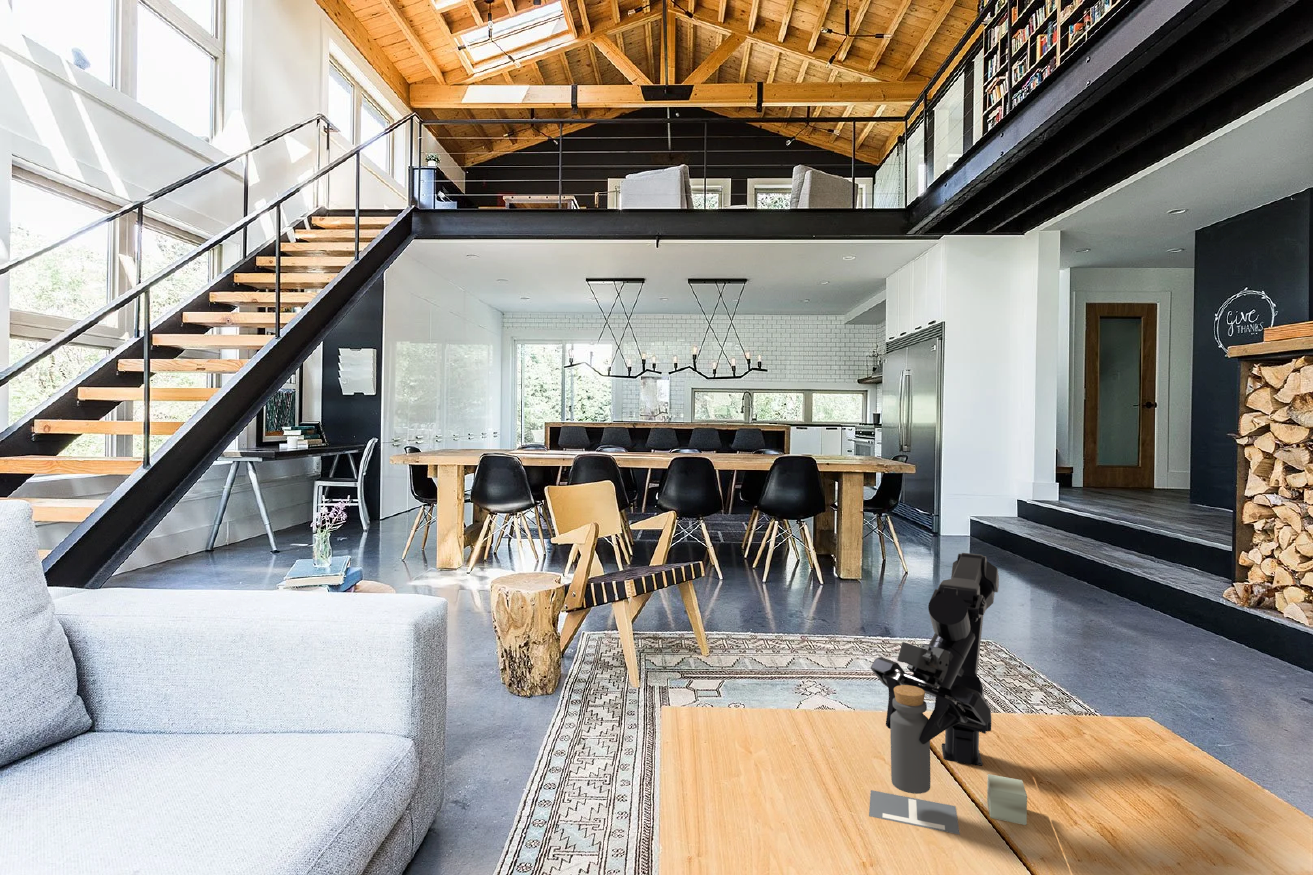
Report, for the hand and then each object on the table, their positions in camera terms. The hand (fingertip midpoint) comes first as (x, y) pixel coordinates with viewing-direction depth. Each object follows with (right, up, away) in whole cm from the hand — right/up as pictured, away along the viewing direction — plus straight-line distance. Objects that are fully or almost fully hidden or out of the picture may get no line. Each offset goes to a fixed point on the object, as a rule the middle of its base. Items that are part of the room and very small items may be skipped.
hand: (904, 734), depth 105 cm
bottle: (+1, -8, +1) cm, 9 cm away
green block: (+16, -13, 0) cm, 21 cm away
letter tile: (+2, -13, +1) cm, 13 cm away
